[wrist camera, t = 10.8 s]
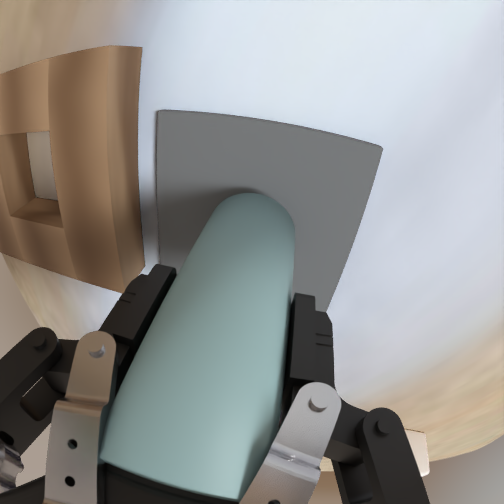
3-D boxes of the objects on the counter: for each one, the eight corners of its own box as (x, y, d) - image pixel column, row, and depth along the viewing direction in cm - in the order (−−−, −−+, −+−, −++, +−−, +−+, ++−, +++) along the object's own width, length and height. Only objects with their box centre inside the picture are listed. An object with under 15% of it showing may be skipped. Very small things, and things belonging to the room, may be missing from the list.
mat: (380, 145, 13) (383, 148, 12) (324, 307, 19) (324, 314, 18) (163, 109, 13) (158, 111, 13) (165, 275, 19) (161, 281, 19)
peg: (304, 202, 13) (286, 502, 4) (285, 275, 16) (253, 511, 6) (211, 185, 14) (60, 434, 4) (207, 259, 16) (117, 475, 6)
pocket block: (142, 47, 11) (109, 45, 9) (145, 265, 19) (125, 294, 17) (-3, 79, 12) (-32, 88, 9) (19, 233, 20) (-2, 251, 18)
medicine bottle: (362, 443, 33) (360, 515, 24) (400, 427, 29) (404, 507, 20) (390, 447, 35) (391, 512, 25) (426, 432, 31) (431, 502, 21)
